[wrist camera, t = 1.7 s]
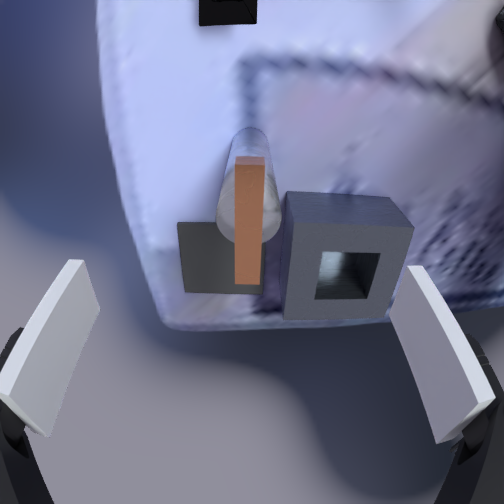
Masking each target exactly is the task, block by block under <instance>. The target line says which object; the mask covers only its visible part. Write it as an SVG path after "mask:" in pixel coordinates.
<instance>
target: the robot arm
mask: <svg viewBox="0 0 504 504" xmlns="http://www.w3.org/2000/svg"><path fill="white" fill-rule="evenodd" d="M99 312H100V307H99V304H98V301H97V299H96V296H95V293H94V290H93V287H92V284H91V281H90V278H89V275H88V272H87V269H86V265H85V262H84V260H68V262H67V263H66V264H65V266H64V267H63V269H62V270H61V272H60V273H59V275H58V276H57V278H56V279H55V281H54V282H53V283H52V285H51V287H50V288H49V290H48V291H47V293H46V294H45V296H44V297H43V299H42V300H41V302H40V304H39V305H38V307H37V308H36V310H35V312H34V313H33V315H32V316H31V318H30V320H29V321H28V323H27V325H26V326H25V328H21V327H20V328H19V329H18V330H17V331H16V332H15V333H14V334H13V335H11V337H10V338H9V340H8V342H7V344H6V346H5V349H3V351H2V353H1V355H0V504H54V502H53V500H52V498H51V496H50V493H49V491H48V489H47V487H46V484H45V482H44V480H43V477H42V475H41V473H40V470H39V467H38V465H37V462H36V460H35V457H34V454H33V451H32V448H31V446H30V443H29V440H28V437H27V435H26V433H25V431H24V428H25V425H26V426H28V427H29V428H30V429H31V430H32V431H33V432H34V433H37V434H40V435H43V436H46V437H49V438H50V436H51V433H52V430H53V427H54V424H55V421H56V418H57V415H58V412H59V409H60V407H61V403H62V401H63V398H64V396H65V393H66V390H67V388H68V385H69V382H70V380H71V377H72V375H73V372H74V369H75V367H76V365H77V362H78V359H79V357H80V355H81V352H82V350H83V348H84V345H85V343H86V341H87V339H88V336H89V334H90V332H91V329H92V327H93V325H94V323H95V321H96V318H97V316H98V314H99ZM389 316H390V318H391V321H392V323H393V325H394V328H395V330H396V333H397V335H398V337H399V340H400V342H401V345H402V347H403V350H404V352H405V355H406V357H407V360H408V363H409V365H410V367H411V370H412V373H413V376H414V378H415V381H416V384H417V387H418V389H419V392H420V395H421V398H422V401H423V403H424V406H425V410H426V412H427V416H428V419H429V422H430V425H431V428H432V431H433V434H434V437H435V441H436V443H437V444H438V443H441V442H444V441H447V440H451V439H453V438H454V437H456V436H457V435H458V434H459V433H460V432H461V431H462V433H463V435H464V437H463V438H462V439H461V440H460V441H458V442H457V443H456V444H455V445H454V446H452V447H451V449H450V452H452V451H454V450H455V449H456V448H457V447H458V449H457V451H456V452H455V456H454V459H453V462H452V464H451V467H450V469H449V472H448V474H447V476H446V479H445V481H444V483H443V485H442V488H441V490H440V492H439V494H438V496H437V498H436V500H435V503H434V504H504V391H503V389H502V387H501V385H500V383H499V381H498V379H497V377H496V375H495V373H494V371H493V369H492V367H491V365H489V361H488V359H487V357H486V356H484V355H485V354H484V352H483V350H482V348H481V346H480V345H479V343H478V342H477V341H476V340H475V339H474V338H473V337H472V336H471V335H470V334H466V335H464V333H463V332H462V330H461V328H460V327H459V325H458V323H457V321H456V319H455V318H454V316H453V314H452V312H451V311H450V309H449V307H448V306H447V304H446V302H445V301H444V299H443V298H442V296H441V294H440V293H439V291H438V289H437V288H436V286H435V285H434V283H433V282H432V280H431V278H430V277H429V275H428V274H427V272H426V271H425V269H424V268H423V266H407V267H406V270H405V273H404V276H403V279H402V281H401V284H400V287H399V290H398V292H397V295H396V298H395V300H394V303H393V305H392V308H391V310H390V313H389Z"/></svg>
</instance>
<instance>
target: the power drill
mask: <svg viewBox="0 0 504 504" xmlns="http://www.w3.org/2000/svg"><path fill="white" fill-rule="evenodd" d="M497 24H498V26H499V27H500V29H501V30H502V32H503V33H504V7H503V9H502V10H501V12H500V13H499V14H498V15H497Z"/></svg>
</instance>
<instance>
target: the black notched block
mask: <svg viewBox="0 0 504 504" xmlns="http://www.w3.org/2000/svg"><path fill="white" fill-rule="evenodd" d="M256 23H257V0H199V26H213V25H238V24H256Z"/></svg>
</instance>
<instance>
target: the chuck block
mask: <svg viewBox="0 0 504 504" xmlns="http://www.w3.org/2000/svg"><path fill="white" fill-rule="evenodd" d="M413 231H414V226H413V225H412V224H411V223H410V222H409V220H408V219H407V218H406V217H405V215H404V214H403V213H402V212H401V211H400V209H399V208H398V207H397V206H396V205H395V204H394V202H393V201H392V200H391V199H390V198H388V197H376V196H363V195H349V194H334V193H316V192H294V191H287V195H286V208H285V220H284V232H283V243H282V254H281V265H280V275H279V284H280V294H281V303H282V313H283V320H320V319H358V318H382V317H384V315H385V313H386V310H387V308H388V305H389V303H390V300H391V297H392V295H393V292H394V289H395V286H396V284H397V281H398V278H399V275H400V272H401V269H402V266H403V263H404V260H405V257H406V254H407V251H408V248H409V245H410V241H411V238H412V235H413Z"/></svg>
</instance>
